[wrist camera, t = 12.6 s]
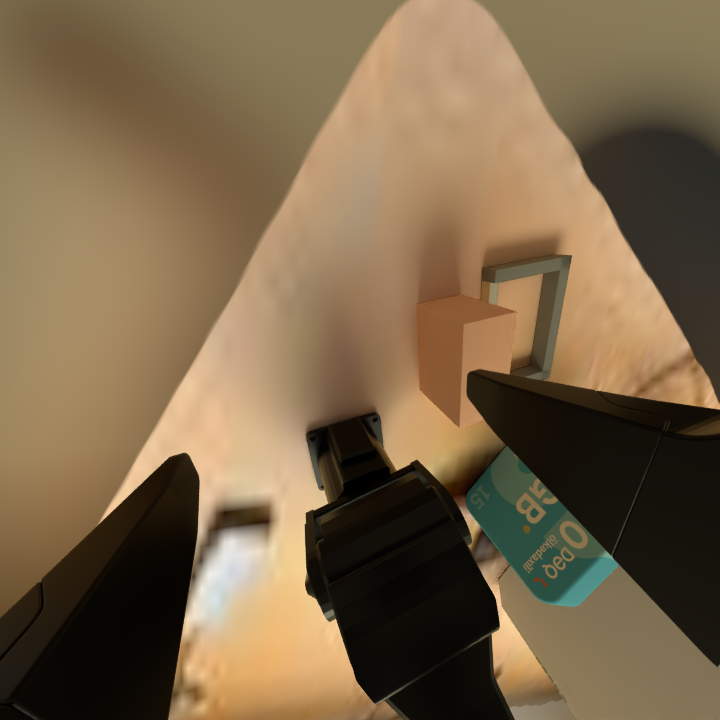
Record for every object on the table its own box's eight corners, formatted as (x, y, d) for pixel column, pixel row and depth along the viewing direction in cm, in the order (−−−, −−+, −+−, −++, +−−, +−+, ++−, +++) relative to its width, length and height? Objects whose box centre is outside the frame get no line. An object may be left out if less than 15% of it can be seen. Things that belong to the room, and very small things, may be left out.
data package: (524, 421, 33) (649, 508, 23) (544, 434, 35) (665, 519, 25) (459, 500, 35) (546, 614, 25) (481, 508, 37) (569, 616, 27)
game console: (616, 459, 44) (856, 609, 26) (512, 588, 49) (652, 781, 32) (597, 451, 41) (850, 613, 24) (490, 588, 47) (629, 799, 29)
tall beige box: (457, 378, 28) (504, 413, 23) (419, 389, 27) (459, 428, 22) (460, 294, 24) (517, 311, 19) (416, 303, 23) (463, 324, 18)
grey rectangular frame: (536, 371, 31) (549, 378, 29) (474, 390, 29) (485, 397, 28) (555, 254, 26) (572, 255, 24) (482, 268, 24) (495, 270, 23)
